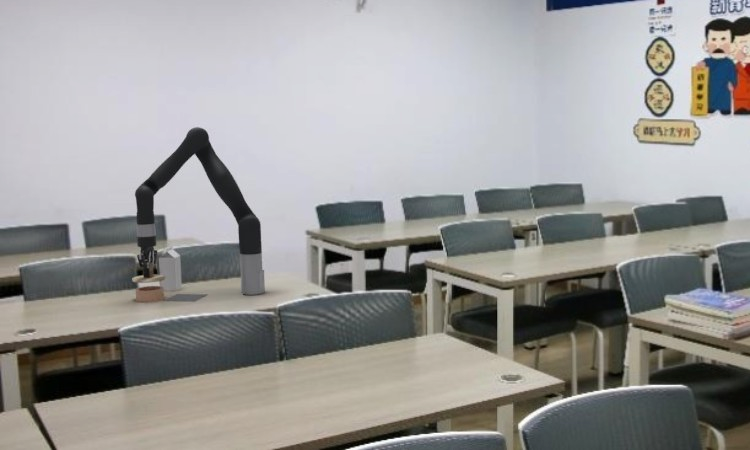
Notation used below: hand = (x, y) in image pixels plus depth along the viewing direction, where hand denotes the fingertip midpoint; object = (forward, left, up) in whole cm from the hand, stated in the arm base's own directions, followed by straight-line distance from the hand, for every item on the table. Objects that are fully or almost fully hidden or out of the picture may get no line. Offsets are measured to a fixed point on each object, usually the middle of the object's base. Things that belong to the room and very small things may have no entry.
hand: (148, 276), depth 339 cm
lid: (0, 0, -2) cm, 2 cm away
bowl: (0, 0, -10) cm, 10 cm away
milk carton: (0, -20, -10) cm, 23 cm away
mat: (-14, -4, -10) cm, 18 cm away
